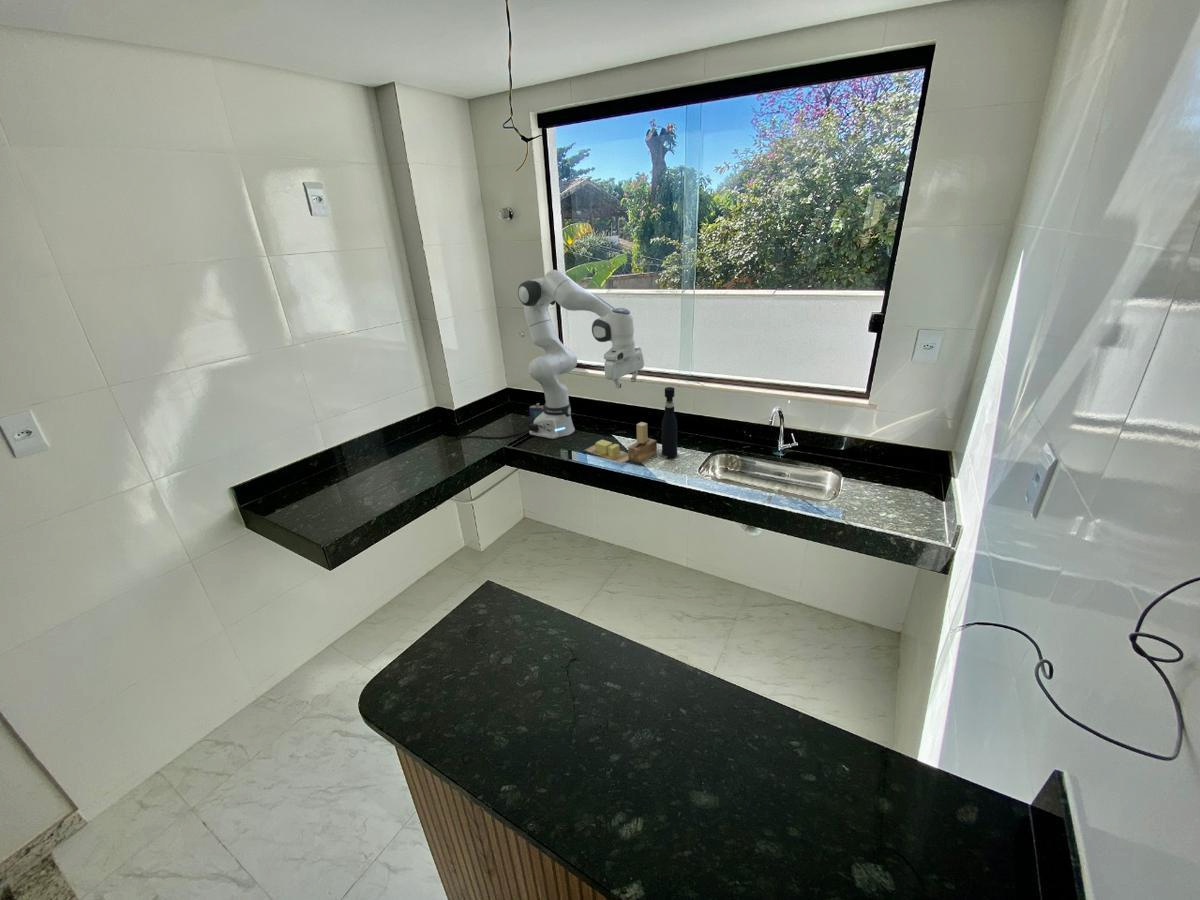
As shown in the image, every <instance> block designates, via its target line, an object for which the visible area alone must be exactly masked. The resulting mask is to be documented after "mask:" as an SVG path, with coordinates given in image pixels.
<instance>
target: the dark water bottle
mask: <svg viewBox="0 0 1200 900" xmlns="http://www.w3.org/2000/svg"><path fill="white" fill-rule="evenodd" d="M664 397H665V398H666V399H665V404H664V405H665V406H664V414H663V417H662V421H661V455H662V456H664V457H665V458H666V459H667V460H671V459H675V458H677V457H678V421H677V417H676V414H675V405H674V403H675V402H674V399H673V398H674V397H675V387H671V386H667V387H665V388H664Z"/></svg>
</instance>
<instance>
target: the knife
mask: <svg viewBox="0 0 1200 900" xmlns="http://www.w3.org/2000/svg"><path fill="white" fill-rule="evenodd" d="M648 430H649V429H648V423H647V422H643V421H640V422H638V423H636V442H639V443H638V444H637V445H636V448H637V447H639V446H641V445H643V444H644V443H646V442H648V441H649V438H650V437H648V435H649V433H648V432H649V431H648Z"/></svg>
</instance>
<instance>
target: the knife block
mask: <svg viewBox="0 0 1200 900" xmlns="http://www.w3.org/2000/svg"><path fill="white" fill-rule="evenodd" d="M648 438H649V441H648V442H646V443H644V444H643V445H641V446H639V447H637V448H636V445H637V444H638V443H639V442H637V441H636V442H634V443H632V444H631V445H629V446H628V447H627V453H628V459H629V460H628V461H632V462H634V463H637V464H641V463H643V462H645V461H646V460H648V459H649V458H651V457H653V456H654V455H656V454H657V452H658V443H657V442H658V441H657V440H656V439H653V438H650V437H648Z"/></svg>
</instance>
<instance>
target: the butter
mask: <svg viewBox="0 0 1200 900" xmlns="http://www.w3.org/2000/svg"><path fill="white" fill-rule="evenodd" d="M594 445H595V447H596V451H597V452H600V453H603V454H608V453H609V451H608V447H610V446H611V445H613V442H611V441H608V440H605V439H600V440H598V441H596V442H595V443H594Z"/></svg>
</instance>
